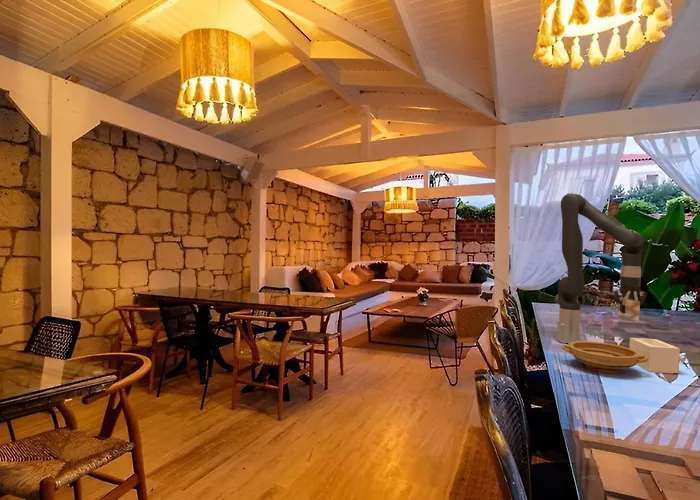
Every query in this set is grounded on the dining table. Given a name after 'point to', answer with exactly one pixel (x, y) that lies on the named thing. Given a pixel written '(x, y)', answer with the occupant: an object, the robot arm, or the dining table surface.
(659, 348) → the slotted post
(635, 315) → the tan wooden block
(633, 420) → the dining table surface
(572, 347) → the ceramic bowl
